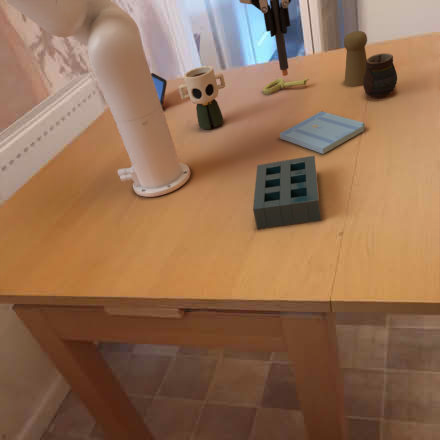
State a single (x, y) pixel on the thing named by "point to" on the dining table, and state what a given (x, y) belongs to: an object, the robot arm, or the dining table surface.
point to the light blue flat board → (323, 132)
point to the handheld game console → (160, 87)
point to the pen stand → (286, 193)
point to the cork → (355, 58)
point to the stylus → (279, 36)
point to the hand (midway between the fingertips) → (279, 32)
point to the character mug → (204, 94)
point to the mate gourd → (379, 76)
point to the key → (282, 85)
